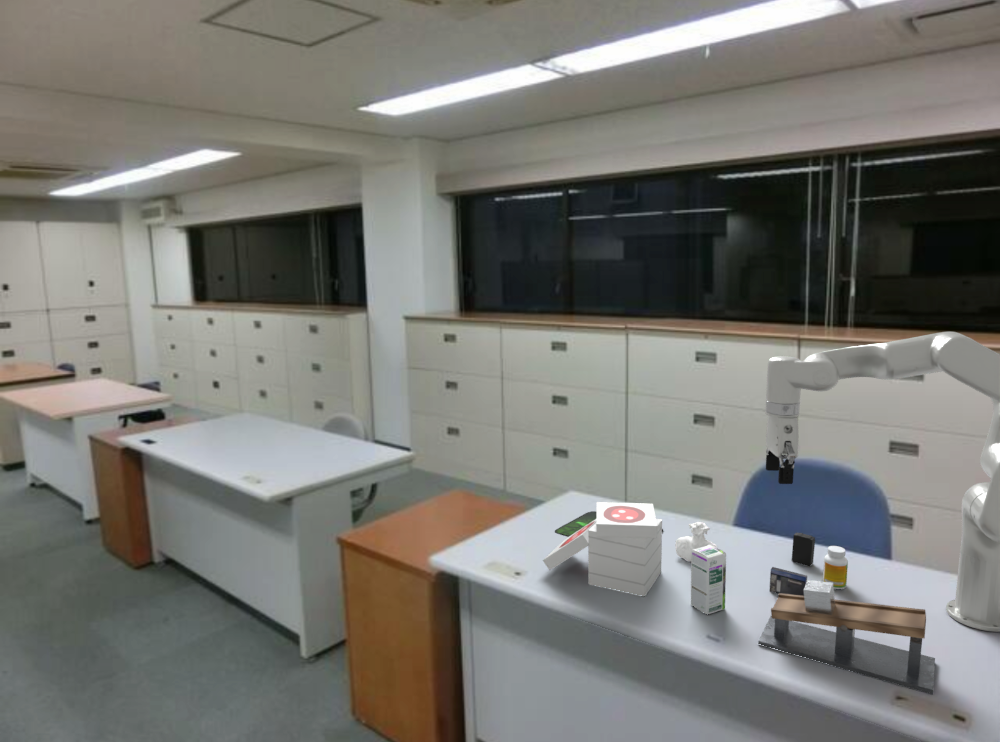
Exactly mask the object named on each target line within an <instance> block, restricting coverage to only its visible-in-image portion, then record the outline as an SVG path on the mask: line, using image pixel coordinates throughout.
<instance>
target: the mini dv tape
mask: <svg viewBox="0 0 1000 742" xmlns="http://www.w3.org/2000/svg"><path fill="white" fill-rule="evenodd" d="M769 575H770V576H769V592H772V593H775V594H779V593H783V594H792V595H800V596H804V588H805V585H806V583H807V581H808V575H807V574H802V573H799V572H795V571H791V570H787V569H784V568H783V569H782V568H778V567H776V566H772V567H771V568H770V574H769Z"/></svg>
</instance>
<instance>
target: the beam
mask: <svg viewBox="0 0 1000 742" xmlns="http://www.w3.org/2000/svg"><path fill="white" fill-rule="evenodd" d="M777 594H778V593H777ZM770 613H771V615H770V616H772V618H774V619H782V620H789V621H794V622H798V623H803V624H813V625H818V626H819V625H821V626H825V627H827V626H829V627H833V628H834V627H835V628H836V627H840V629H841V631H843V632H846V631H847V628H849V629H855V631H856V630H857V631H865V632H872V633H879V634H886V635H887V634H888V635H894V636H902V637H916V638H922V640H924V639H925V638H926V623H927V613H926V609H925V608H924V609H923V608H915V607H905V606H896V605H888V604H879V603H871V602H863V601H851V600H842V599H835V608H834V611H833V614H832V615H826V614H818V613H810V612H806V609H805V600H804V596H800V595H792V594H783V593H779V594H778V596H777V599H776V601H775V603H774V605H773V607H771V608H770Z"/></svg>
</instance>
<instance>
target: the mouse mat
mask: <svg viewBox="0 0 1000 742" xmlns="http://www.w3.org/2000/svg"><path fill="white" fill-rule="evenodd" d="M595 519H597V511H595V510H594V511H587V512H585V513H584V514H582V515H580V516H578V517H577V518H574V519H573V520H571V521H568V522H567V523H565V524H563V525H562V526H560V527H558V528H556V529H555V530H554V533H556V534H558V535H560V536H565V537H567V538H568V537H569V536H571V535H572V534H574V533H575V532H577V531H578V530H580V529H581V528H583V527H584V526H586V525H588V524H589V523H591V522H592V521H594V520H595ZM663 532H664V529H663V528H662V533H663Z"/></svg>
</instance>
